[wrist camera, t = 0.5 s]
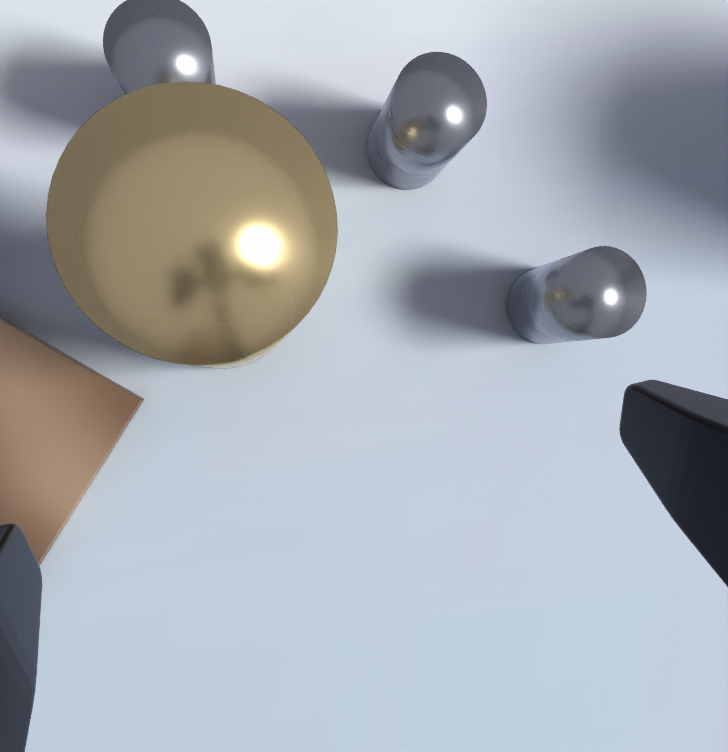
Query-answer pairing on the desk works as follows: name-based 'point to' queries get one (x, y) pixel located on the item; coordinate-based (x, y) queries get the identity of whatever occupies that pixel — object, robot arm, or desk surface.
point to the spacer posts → (405, 161)
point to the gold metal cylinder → (192, 224)
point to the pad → (52, 433)
